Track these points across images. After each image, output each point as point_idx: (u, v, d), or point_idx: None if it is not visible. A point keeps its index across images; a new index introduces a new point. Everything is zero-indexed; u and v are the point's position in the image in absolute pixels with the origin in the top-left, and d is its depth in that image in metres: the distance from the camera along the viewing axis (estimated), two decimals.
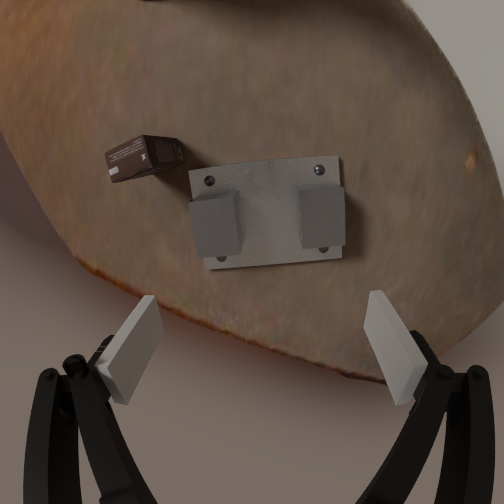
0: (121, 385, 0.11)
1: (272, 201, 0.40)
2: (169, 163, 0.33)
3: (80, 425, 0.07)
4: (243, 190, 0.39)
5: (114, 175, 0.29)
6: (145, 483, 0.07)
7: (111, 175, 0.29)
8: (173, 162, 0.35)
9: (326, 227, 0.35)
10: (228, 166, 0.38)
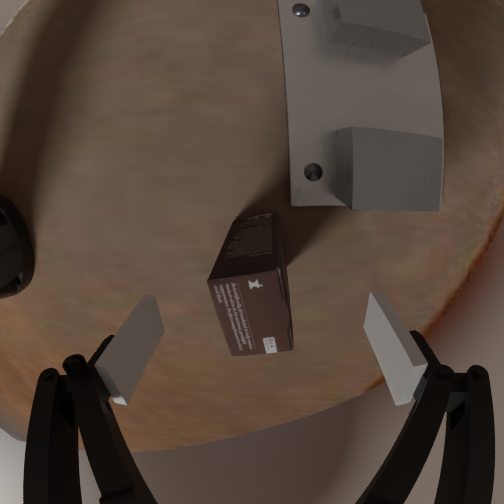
0: (121, 385, 0.11)
1: (354, 78, 0.19)
2: (276, 234, 0.19)
3: (80, 425, 0.07)
4: (334, 119, 0.21)
5: (279, 345, 0.16)
6: (145, 483, 0.07)
7: (277, 350, 0.16)
8: (274, 227, 0.21)
9: (395, 2, 0.12)
10: (292, 137, 0.22)
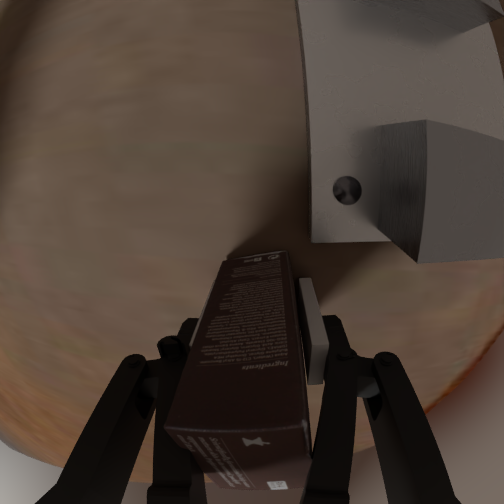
0: None
1: (404, 52, 0.11)
2: (293, 308, 0.11)
3: (158, 408, 0.08)
4: (379, 108, 0.12)
5: (292, 484, 0.08)
6: (203, 478, 0.07)
7: (289, 487, 0.08)
8: (287, 287, 0.12)
9: None
10: (315, 134, 0.13)
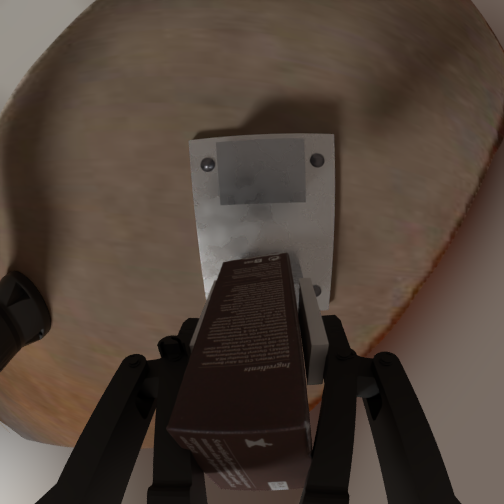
0: None
1: (249, 225, 0.31)
2: (294, 310, 0.11)
3: (158, 408, 0.08)
4: (233, 258, 0.33)
5: (293, 485, 0.08)
6: (203, 478, 0.07)
7: (290, 487, 0.08)
8: (288, 289, 0.12)
9: (274, 166, 0.24)
10: (204, 272, 0.34)
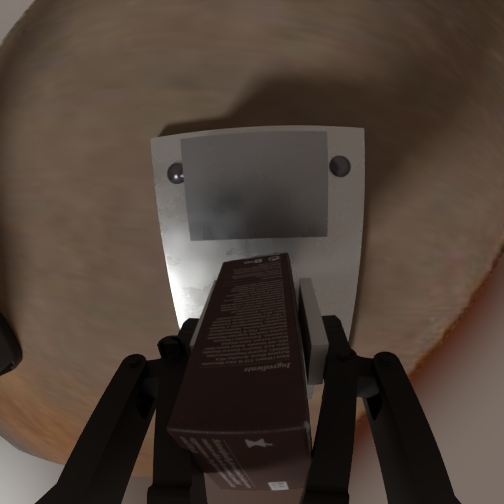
0: None
1: None
2: (294, 310, 0.11)
3: (158, 408, 0.08)
4: None
5: (293, 485, 0.08)
6: (203, 478, 0.07)
7: (290, 488, 0.08)
8: (288, 289, 0.12)
9: (277, 177, 0.14)
10: (180, 319, 0.24)
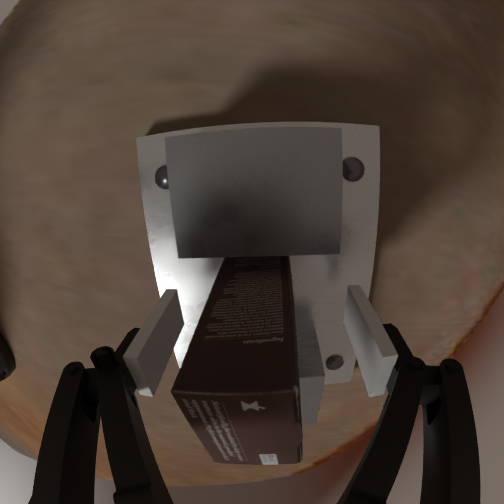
0: (148, 376, 0.11)
1: None
2: (289, 294, 0.12)
3: (103, 418, 0.07)
4: None
5: (282, 459, 0.09)
6: (162, 480, 0.07)
7: (279, 462, 0.09)
8: (285, 277, 0.14)
9: (281, 183, 0.12)
10: None
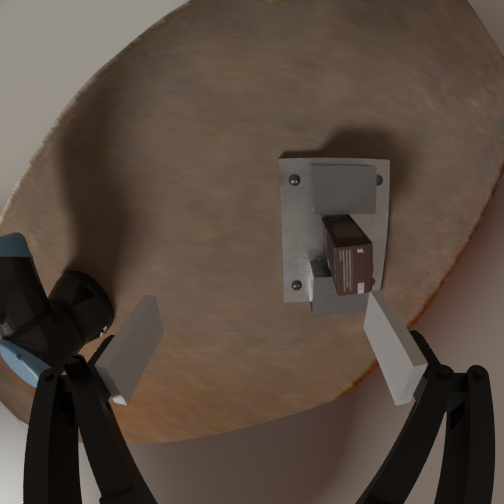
0: (121, 385, 0.11)
1: None
2: (359, 227, 0.31)
3: (80, 425, 0.07)
4: (310, 256, 0.40)
5: (365, 288, 0.28)
6: (145, 483, 0.07)
7: (364, 291, 0.28)
8: (355, 223, 0.33)
9: (355, 186, 0.31)
10: (284, 267, 0.41)
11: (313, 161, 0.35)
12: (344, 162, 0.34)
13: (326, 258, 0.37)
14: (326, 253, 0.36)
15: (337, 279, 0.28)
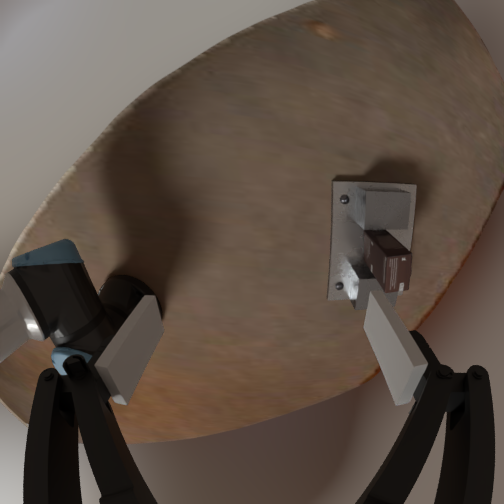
0: (121, 385, 0.11)
1: None
2: (397, 240, 0.38)
3: (80, 425, 0.07)
4: (352, 261, 0.47)
5: (404, 286, 0.35)
6: (145, 483, 0.07)
7: (403, 289, 0.35)
8: (392, 236, 0.40)
9: (395, 208, 0.38)
10: (331, 271, 0.48)
11: (360, 185, 0.42)
12: (383, 186, 0.42)
13: (367, 263, 0.44)
14: (368, 259, 0.43)
15: (386, 280, 0.35)
